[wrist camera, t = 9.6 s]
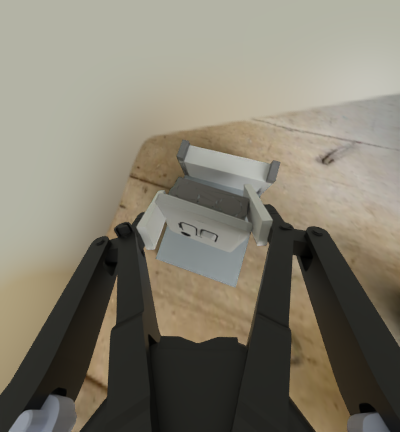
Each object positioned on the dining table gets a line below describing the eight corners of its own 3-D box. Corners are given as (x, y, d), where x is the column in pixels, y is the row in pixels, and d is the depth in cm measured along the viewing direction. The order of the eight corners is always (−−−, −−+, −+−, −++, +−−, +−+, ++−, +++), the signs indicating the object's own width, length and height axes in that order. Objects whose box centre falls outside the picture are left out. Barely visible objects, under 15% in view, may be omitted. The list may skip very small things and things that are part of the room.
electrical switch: (170, 231, 22) (144, 215, 13) (183, 200, 23) (167, 166, 14) (230, 253, 20) (247, 254, 11) (241, 220, 22) (264, 196, 13)
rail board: (262, 183, 23) (280, 161, 16) (234, 284, 21) (243, 304, 15) (190, 165, 24) (182, 139, 18) (158, 257, 22) (137, 264, 16)
